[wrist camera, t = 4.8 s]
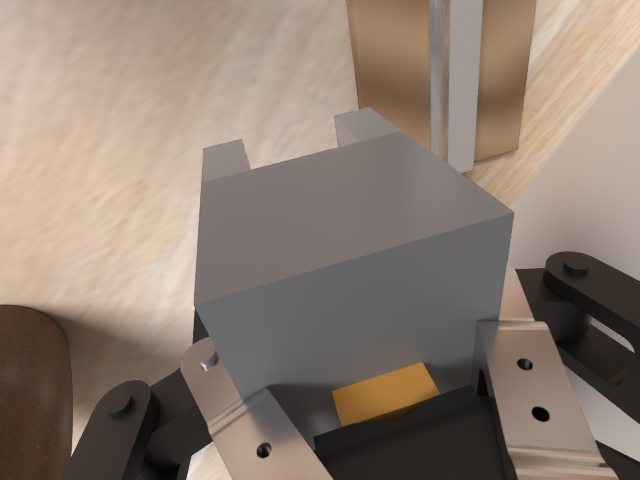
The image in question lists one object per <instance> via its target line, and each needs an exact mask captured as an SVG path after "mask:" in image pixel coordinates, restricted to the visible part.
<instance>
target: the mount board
mask: <svg viewBox="0 0 640 480" xmlns="http://www.w3.org/2000/svg"><path fill="white" fill-rule="evenodd" d="M346 2H347V10H348V19H349V27H350V35H351V44H352V52H353V61H354V69H355V78H356V86H357V95H358V103H359V109H363V108H367V107H370V108H371V109H373V110H374V111H376V112H377V113H378V114H380V115H381V116H382V117H384V118H385V119H387V120H388V121H389V122H391V123H392V124H393V125H395V126H396V127H398V128H399V129H400V130H402V131H403V132H404V133H406V134H407V135H409V136H410V137H411V138H413V139H414V140H416V141H417V142H418V143H420V144H421V145H422V146H424V147H425V148H427V149H428V150H429V86H428V16H427V0H346ZM535 7H536V0H483V11H482V28H481V46H480V63H479V81H478V98H477V115H476V133H475V150H474V161H478V160H481V159H485V158H489V157H492V156H496V155H500V154H503V153H507V152H510V151H514V150H518V142H519V134H520V126H521V118H522V110H523V102H524V94H525V86H526V78H527V70H528V62H529V54H530V46H531V38H532V31H533V23H534V15H535Z"/></svg>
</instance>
